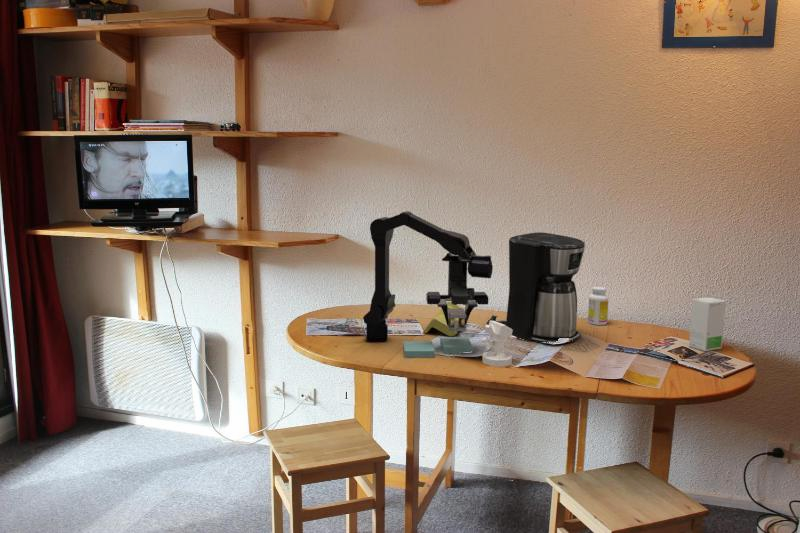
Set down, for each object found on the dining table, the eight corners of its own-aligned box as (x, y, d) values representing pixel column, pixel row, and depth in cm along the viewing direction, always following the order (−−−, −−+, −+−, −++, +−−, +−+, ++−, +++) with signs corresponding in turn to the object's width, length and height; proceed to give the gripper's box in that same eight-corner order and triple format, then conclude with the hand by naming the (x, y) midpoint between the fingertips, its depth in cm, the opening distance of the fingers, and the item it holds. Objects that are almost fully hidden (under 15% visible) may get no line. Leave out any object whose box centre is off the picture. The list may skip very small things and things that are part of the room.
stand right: (443, 353, 206) (443, 347, 206) (440, 343, 216) (440, 337, 216) (472, 353, 206) (472, 346, 206) (468, 343, 216) (468, 337, 216)
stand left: (404, 357, 202) (404, 351, 201) (403, 347, 212) (403, 341, 211) (434, 357, 202) (434, 351, 202) (431, 347, 212) (432, 341, 212)
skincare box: (704, 352, 209) (709, 303, 206) (686, 346, 215) (691, 298, 212) (722, 348, 213) (727, 300, 210) (704, 342, 219) (709, 296, 216)
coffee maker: (575, 349, 211) (581, 242, 205) (475, 338, 222) (477, 236, 216) (583, 330, 232) (589, 233, 226) (491, 321, 243) (494, 228, 237)
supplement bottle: (608, 322, 243) (610, 287, 241) (605, 326, 237) (607, 290, 235) (589, 319, 246) (591, 285, 244) (585, 324, 240) (587, 288, 238)
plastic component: (456, 331, 222) (430, 316, 224) (447, 349, 225) (421, 334, 227) (470, 312, 240) (446, 298, 242) (461, 329, 243) (437, 315, 245)
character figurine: (476, 359, 200) (477, 320, 198) (502, 355, 205) (503, 316, 203) (494, 368, 193) (495, 327, 191) (520, 363, 197) (522, 323, 195)
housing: (449, 330, 206) (450, 314, 205) (446, 323, 214) (447, 308, 213) (465, 330, 206) (466, 314, 205) (462, 323, 214) (463, 308, 213)
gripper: (429, 281, 199) (428, 332, 202) (492, 281, 199) (490, 332, 202) (426, 273, 210) (425, 322, 213) (486, 273, 210) (484, 322, 213)
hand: (456, 325), depth 210 cm, fingers closed on housing, 5 cm apart
